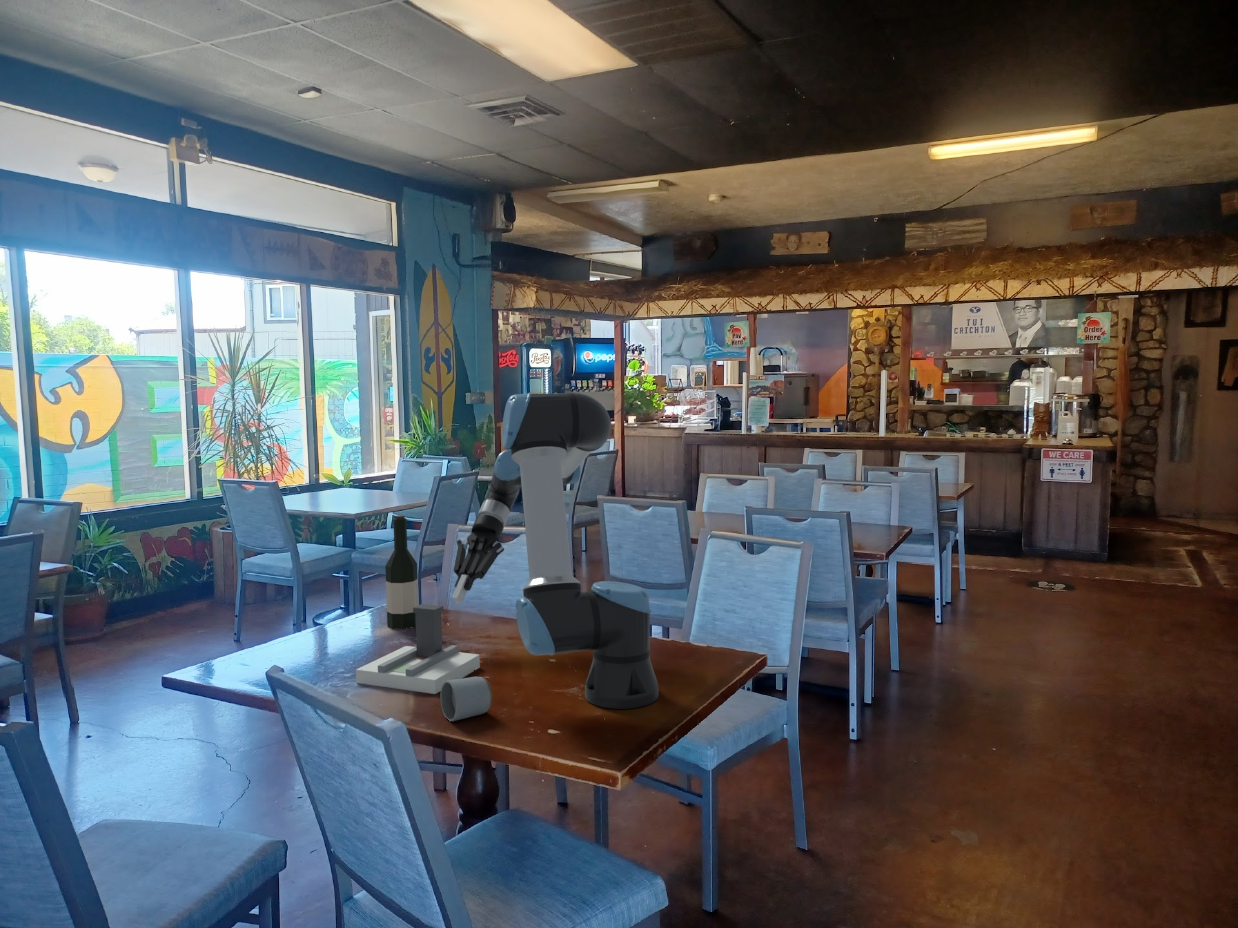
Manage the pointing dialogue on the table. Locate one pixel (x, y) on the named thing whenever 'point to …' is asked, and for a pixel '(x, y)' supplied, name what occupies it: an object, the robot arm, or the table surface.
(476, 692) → the ceramic mug
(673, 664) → the table surface
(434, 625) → the handle
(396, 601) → the wine bottle
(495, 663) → the table surface
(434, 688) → the plate
